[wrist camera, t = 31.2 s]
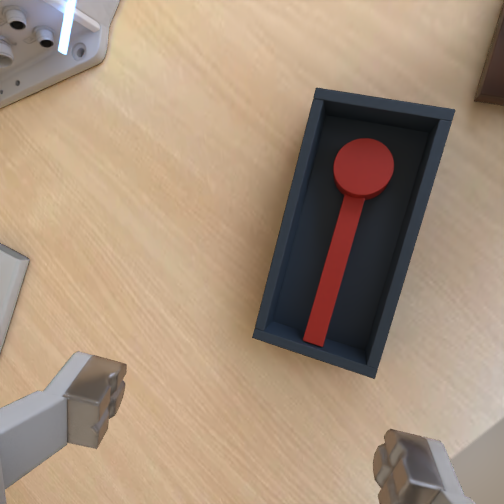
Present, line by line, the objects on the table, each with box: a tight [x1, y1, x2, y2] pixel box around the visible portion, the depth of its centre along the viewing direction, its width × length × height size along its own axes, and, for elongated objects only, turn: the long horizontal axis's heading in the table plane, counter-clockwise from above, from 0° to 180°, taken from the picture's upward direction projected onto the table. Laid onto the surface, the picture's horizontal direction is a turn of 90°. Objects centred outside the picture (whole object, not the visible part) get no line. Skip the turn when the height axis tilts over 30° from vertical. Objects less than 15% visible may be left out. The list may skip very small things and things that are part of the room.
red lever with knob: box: [303, 138, 394, 347], centre depth 28 cm, size 16×4×2 cm, turn 165°
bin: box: [252, 88, 455, 379], centre depth 29 cm, size 20×10×4 cm, turn 165°
